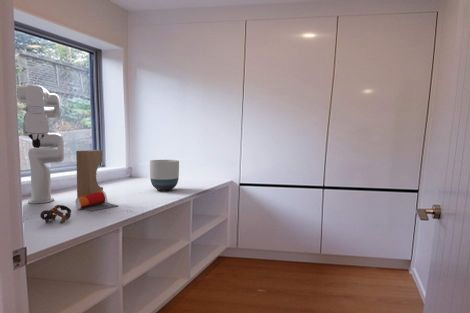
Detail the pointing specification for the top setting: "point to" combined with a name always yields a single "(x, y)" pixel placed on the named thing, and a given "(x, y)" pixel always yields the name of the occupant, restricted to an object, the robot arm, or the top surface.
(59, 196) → the top surface
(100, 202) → the paper cup
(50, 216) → the brown looped knot sculpture
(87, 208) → the mat
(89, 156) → the decorative block
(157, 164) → the planter
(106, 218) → the top surface
